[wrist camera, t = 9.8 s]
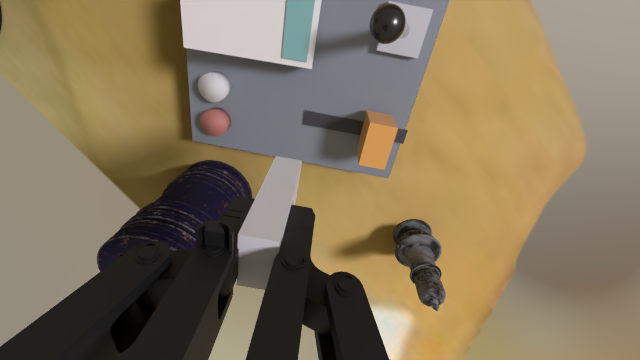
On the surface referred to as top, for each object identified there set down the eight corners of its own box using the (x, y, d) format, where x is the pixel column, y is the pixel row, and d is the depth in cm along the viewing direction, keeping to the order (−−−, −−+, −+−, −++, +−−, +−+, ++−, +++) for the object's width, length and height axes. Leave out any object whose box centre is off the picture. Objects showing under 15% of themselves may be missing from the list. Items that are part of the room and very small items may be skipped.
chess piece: (383, 240, 39) (396, 316, 29) (405, 211, 37) (429, 283, 26) (418, 254, 40) (443, 334, 30) (442, 227, 37) (480, 303, 27)
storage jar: (267, 200, 38) (225, 290, 25) (220, 230, 41) (162, 323, 28) (215, 145, 34) (134, 216, 21) (168, 182, 38) (74, 264, 25)
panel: (208, 129, 33) (185, 145, 28) (201, -61, 24) (165, -83, 19) (385, 163, 33) (392, 185, 29) (442, -13, 24) (466, -23, 20)
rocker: (191, 45, 22) (182, 47, 21) (186, -46, 20) (175, -53, 18) (310, 65, 24) (311, 69, 22) (321, -16, 21) (324, -20, 19)
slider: (356, 148, 28) (358, 164, 24) (366, 110, 26) (370, 122, 22) (379, 152, 28) (384, 169, 24) (391, 115, 26) (398, 128, 22)
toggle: (386, 42, 23) (361, 39, 17) (394, 12, 22) (370, -2, 16) (412, 48, 22) (395, 46, 16) (421, 17, 21) (407, 3, 15)
